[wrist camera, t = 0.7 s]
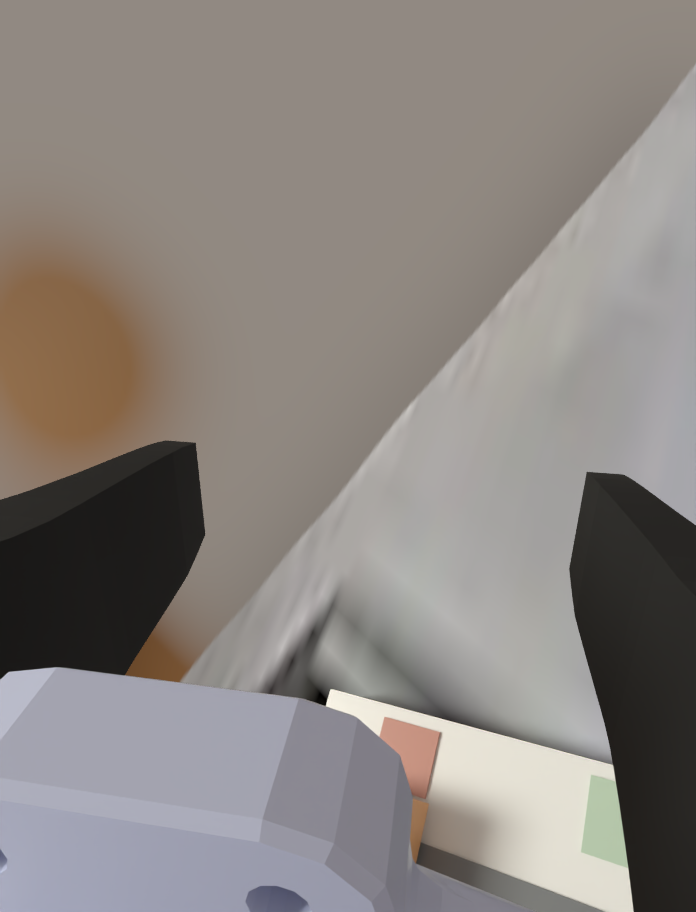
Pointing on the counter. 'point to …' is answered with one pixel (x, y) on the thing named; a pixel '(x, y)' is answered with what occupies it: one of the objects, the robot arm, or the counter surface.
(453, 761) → the panel
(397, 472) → the counter surface
